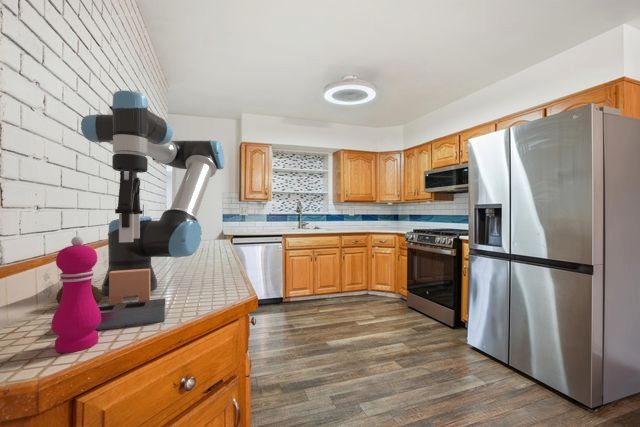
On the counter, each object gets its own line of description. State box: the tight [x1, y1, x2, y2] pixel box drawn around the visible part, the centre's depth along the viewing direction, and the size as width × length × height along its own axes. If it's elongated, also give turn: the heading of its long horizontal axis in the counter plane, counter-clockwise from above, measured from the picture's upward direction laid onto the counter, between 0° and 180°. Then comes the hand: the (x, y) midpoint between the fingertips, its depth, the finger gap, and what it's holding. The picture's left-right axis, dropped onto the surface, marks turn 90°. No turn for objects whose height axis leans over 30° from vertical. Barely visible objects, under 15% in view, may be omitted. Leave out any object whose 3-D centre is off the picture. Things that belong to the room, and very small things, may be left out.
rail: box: [95, 297, 166, 331], centre depth 69 cm, size 7×18×4 cm, turn 115°
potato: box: [55, 284, 103, 305], centre depth 81 cm, size 7×10×7 cm
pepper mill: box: [50, 236, 101, 354], centre depth 57 cm, size 7×7×20 cm
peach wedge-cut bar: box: [108, 269, 151, 304], centre depth 77 cm, size 3×8×10 cm, turn 115°
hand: (130, 240), depth 77 cm, fingers open, 13 cm apart
